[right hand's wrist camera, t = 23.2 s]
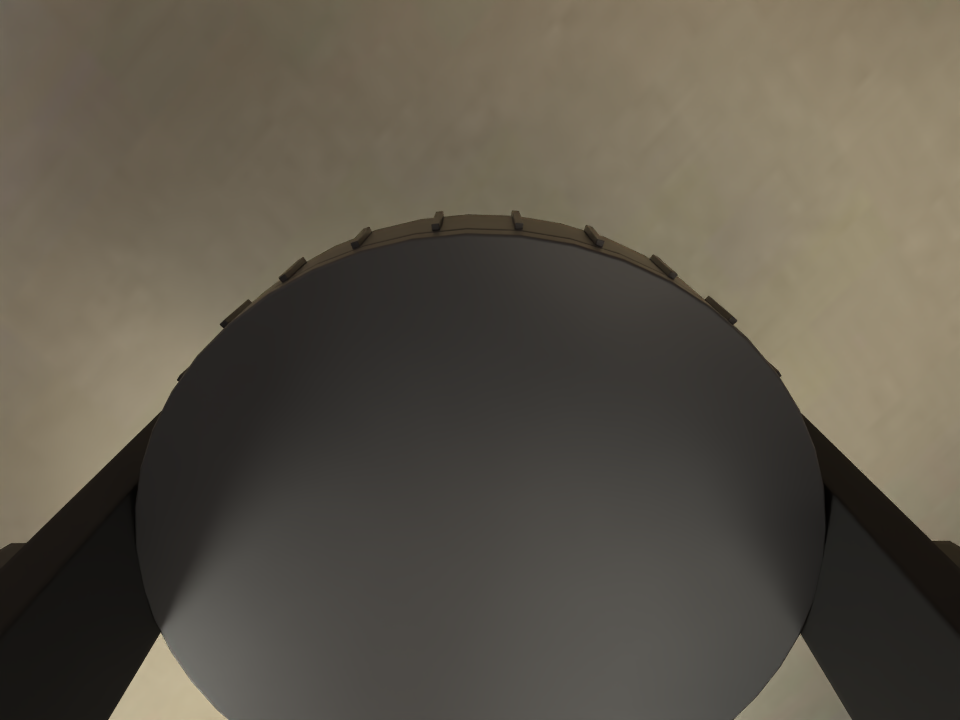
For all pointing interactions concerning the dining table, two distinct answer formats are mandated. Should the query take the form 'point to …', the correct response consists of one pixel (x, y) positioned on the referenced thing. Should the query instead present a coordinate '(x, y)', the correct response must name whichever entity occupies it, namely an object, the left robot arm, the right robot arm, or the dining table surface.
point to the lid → (480, 489)
